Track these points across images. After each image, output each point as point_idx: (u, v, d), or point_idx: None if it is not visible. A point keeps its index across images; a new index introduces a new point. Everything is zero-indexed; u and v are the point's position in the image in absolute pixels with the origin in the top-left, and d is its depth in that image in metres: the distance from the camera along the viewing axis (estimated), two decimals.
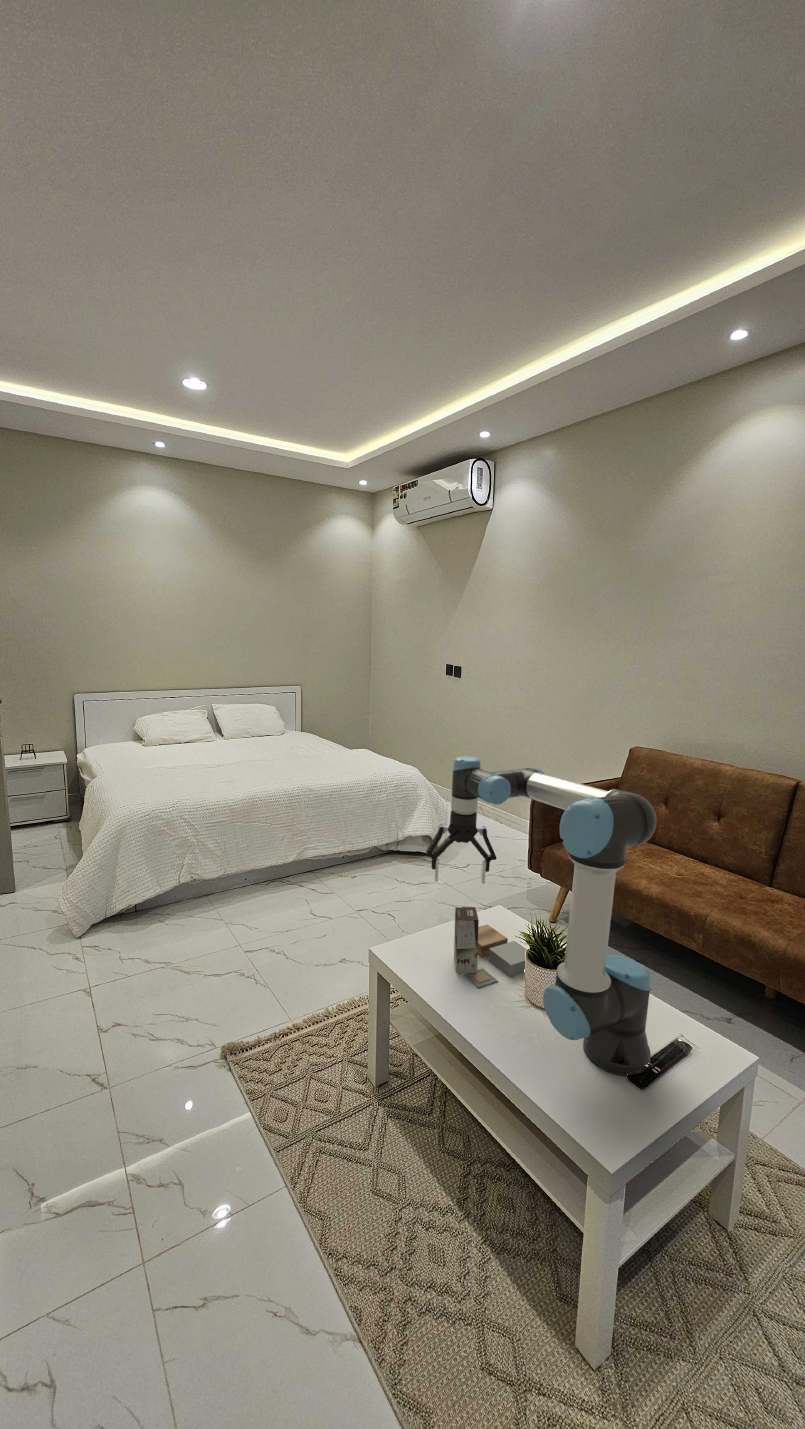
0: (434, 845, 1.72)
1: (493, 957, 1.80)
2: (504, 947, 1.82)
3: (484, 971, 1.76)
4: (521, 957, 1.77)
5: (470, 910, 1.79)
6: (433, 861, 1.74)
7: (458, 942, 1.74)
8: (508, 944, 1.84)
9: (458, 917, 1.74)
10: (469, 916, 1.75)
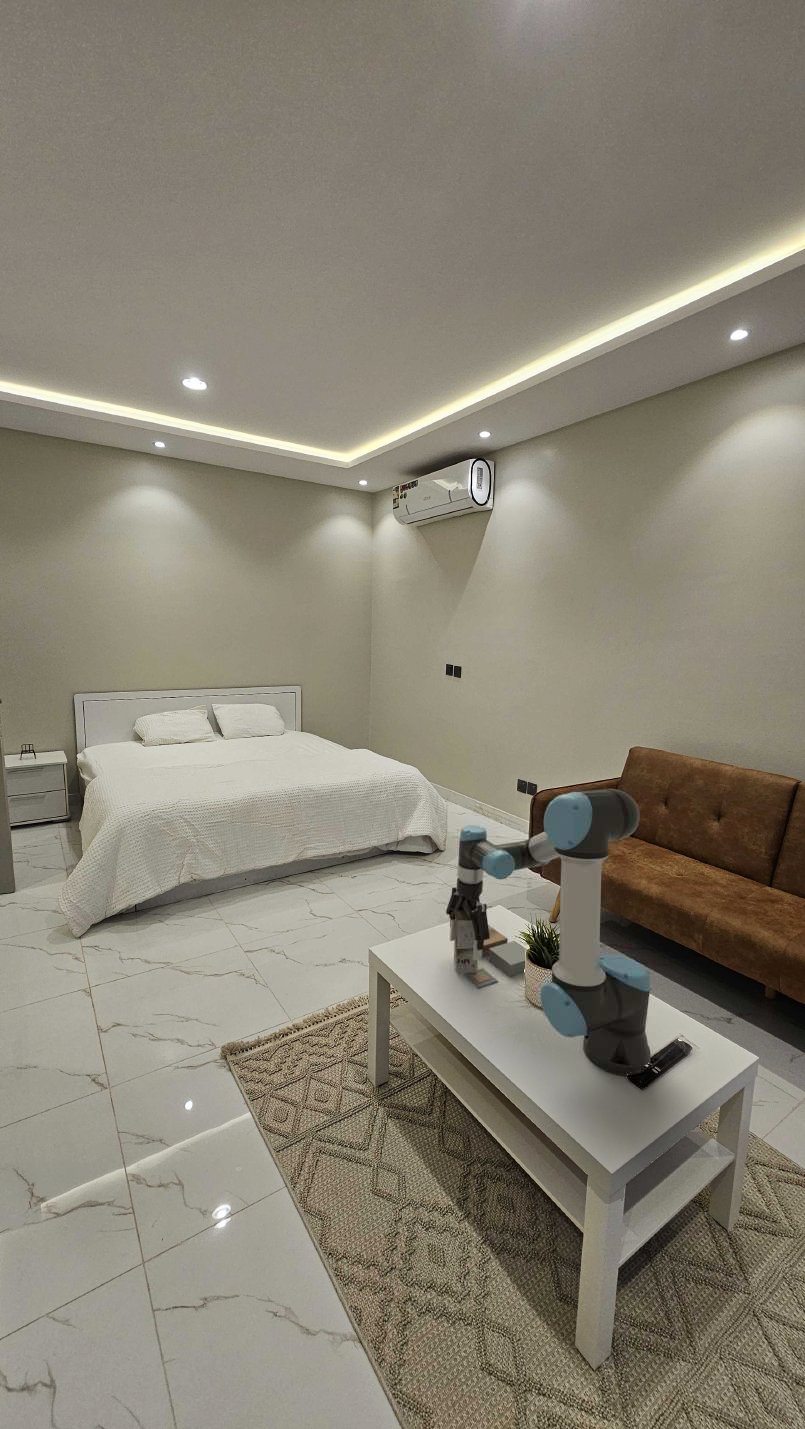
0: (449, 904, 1.82)
1: (493, 957, 1.80)
2: (504, 947, 1.82)
3: (484, 971, 1.76)
4: (521, 957, 1.77)
5: None
6: (451, 920, 1.83)
7: (458, 942, 1.74)
8: (508, 944, 1.84)
9: (459, 917, 1.74)
10: (469, 916, 1.75)
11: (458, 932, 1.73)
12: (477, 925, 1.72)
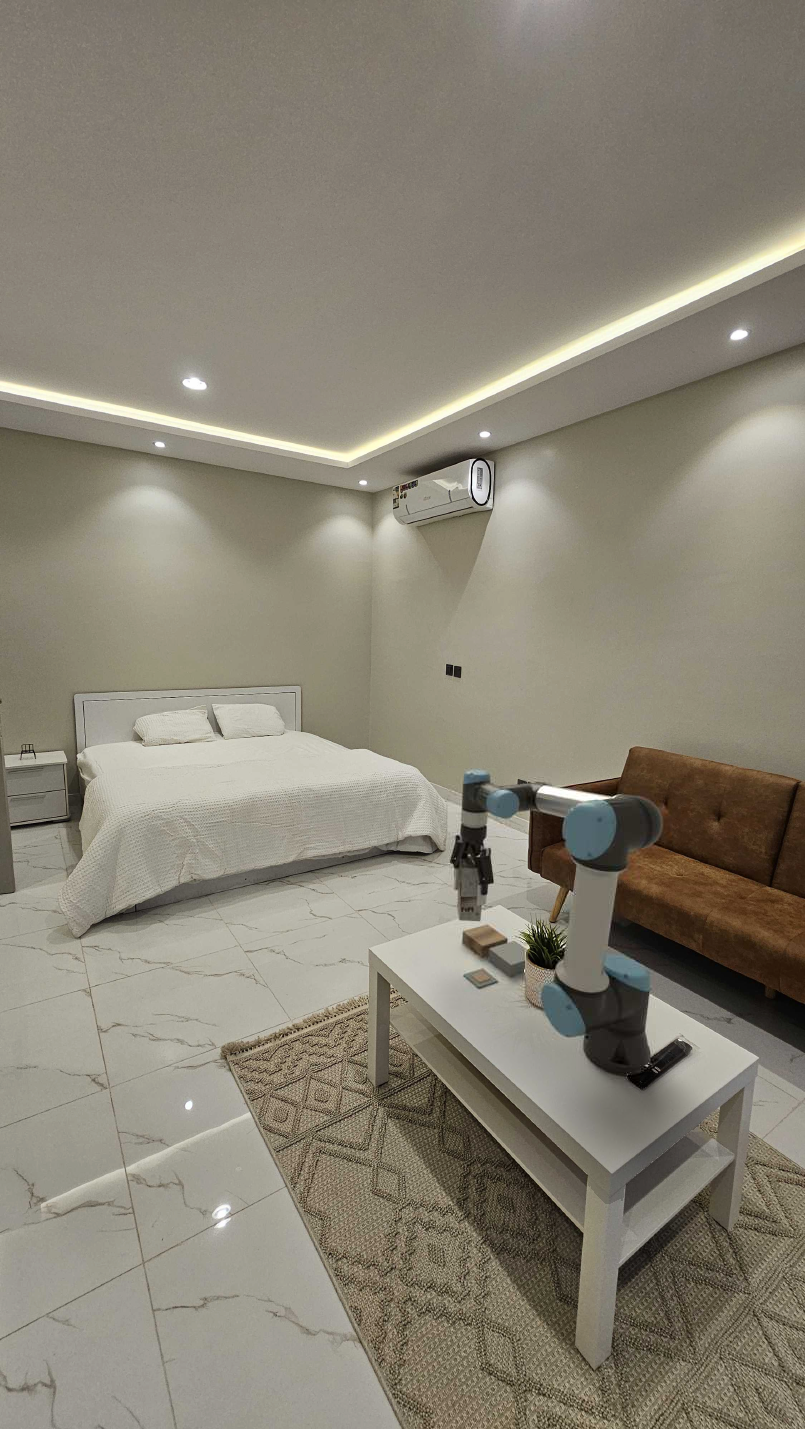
0: (453, 852, 1.80)
1: (493, 957, 1.80)
2: (504, 947, 1.82)
3: (484, 971, 1.76)
4: (521, 957, 1.77)
5: None
6: (455, 869, 1.80)
7: (462, 890, 1.71)
8: (508, 944, 1.84)
9: (464, 865, 1.71)
10: (474, 864, 1.72)
11: (463, 880, 1.70)
12: (481, 870, 1.70)
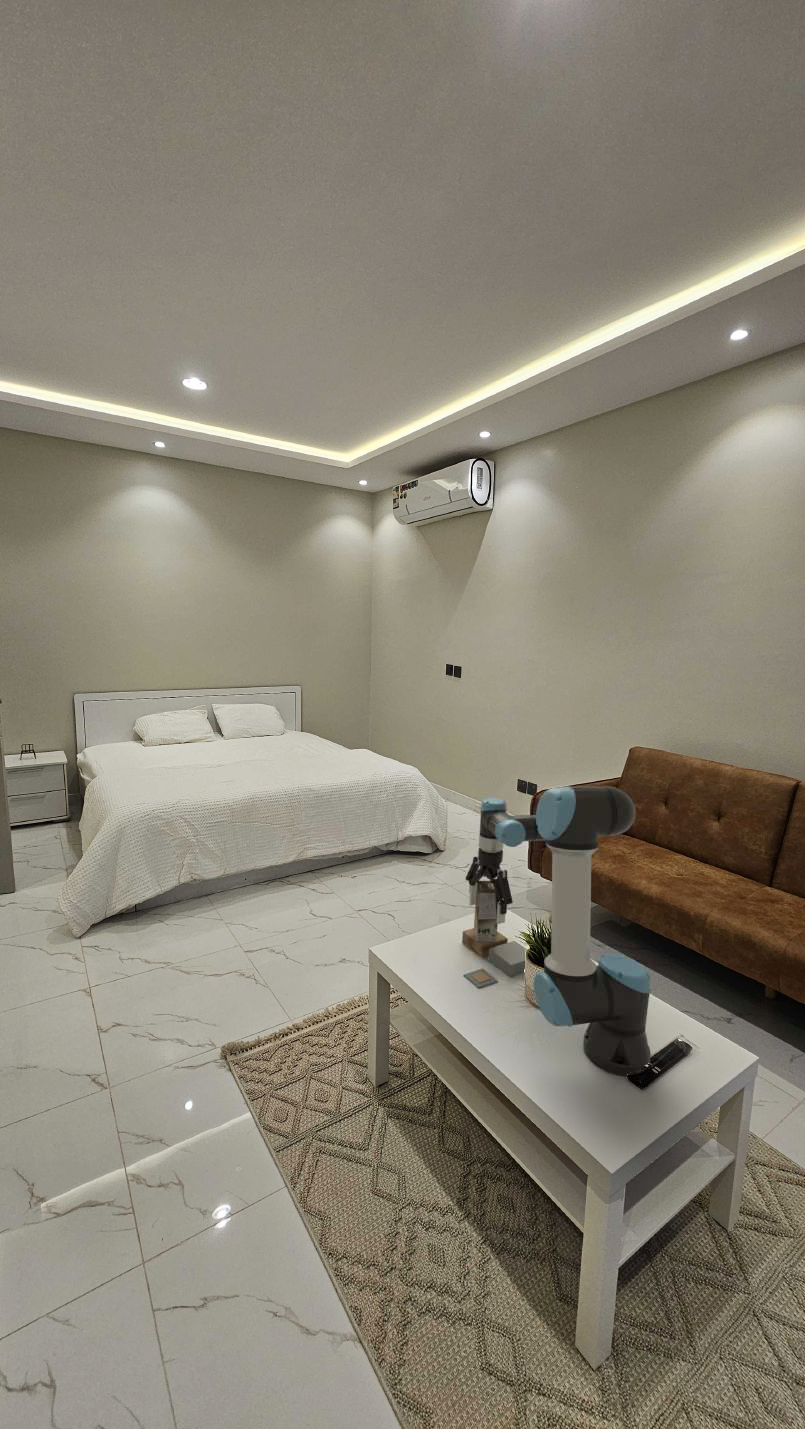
0: (470, 871, 1.93)
1: (493, 957, 1.80)
2: (504, 947, 1.82)
3: (484, 971, 1.76)
4: (521, 957, 1.77)
5: (491, 884, 1.89)
6: (470, 886, 1.94)
7: (480, 913, 1.84)
8: (508, 944, 1.84)
9: (480, 890, 1.84)
10: (490, 889, 1.85)
11: (480, 904, 1.84)
12: (499, 891, 1.82)
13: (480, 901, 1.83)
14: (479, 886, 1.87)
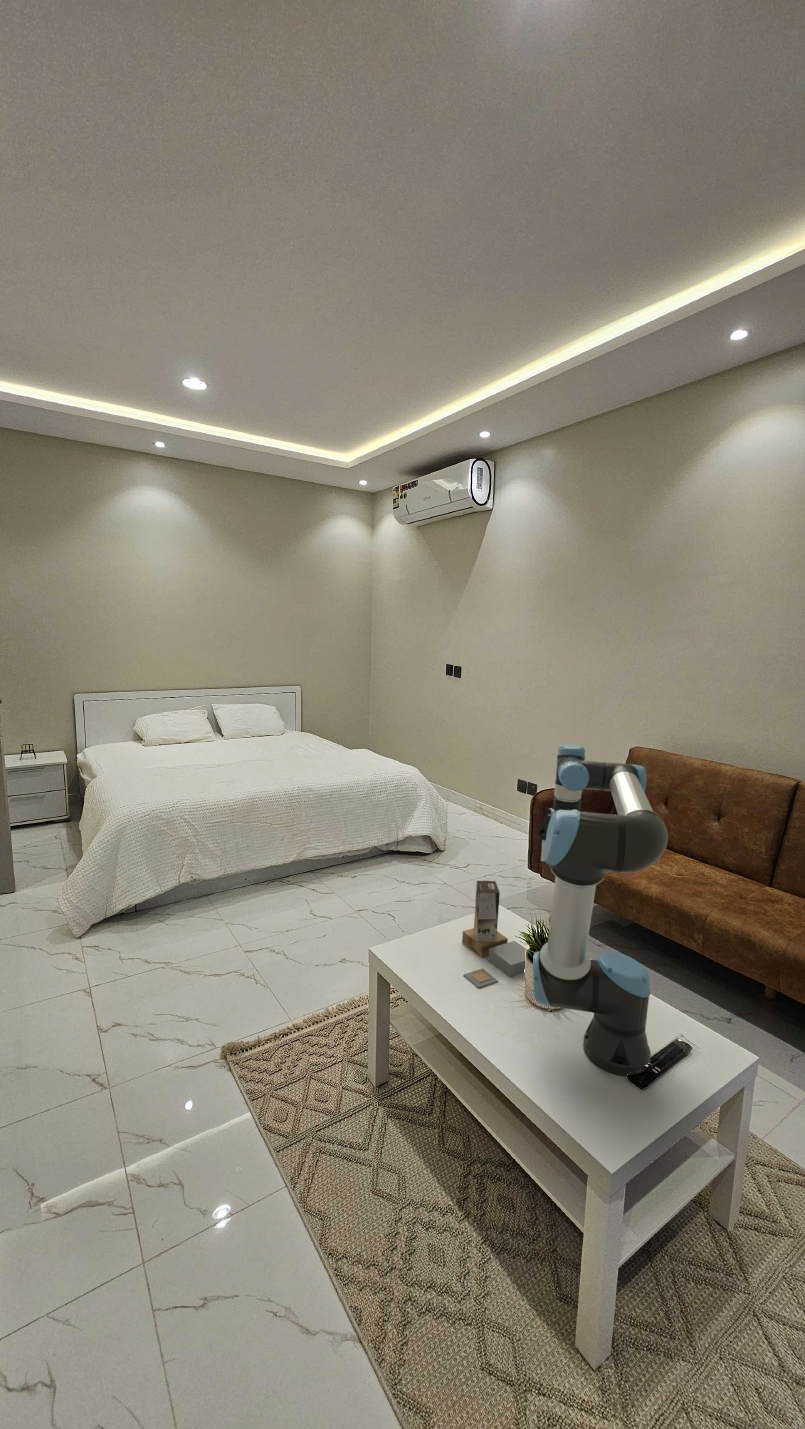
0: (542, 825, 1.81)
1: (493, 957, 1.80)
2: (504, 947, 1.82)
3: (484, 971, 1.76)
4: (521, 957, 1.77)
5: (491, 884, 1.89)
6: (542, 841, 1.82)
7: (480, 913, 1.84)
8: (508, 944, 1.84)
9: (480, 890, 1.84)
10: (490, 889, 1.86)
11: (480, 904, 1.84)
12: None
13: (480, 901, 1.84)
14: (479, 886, 1.87)
